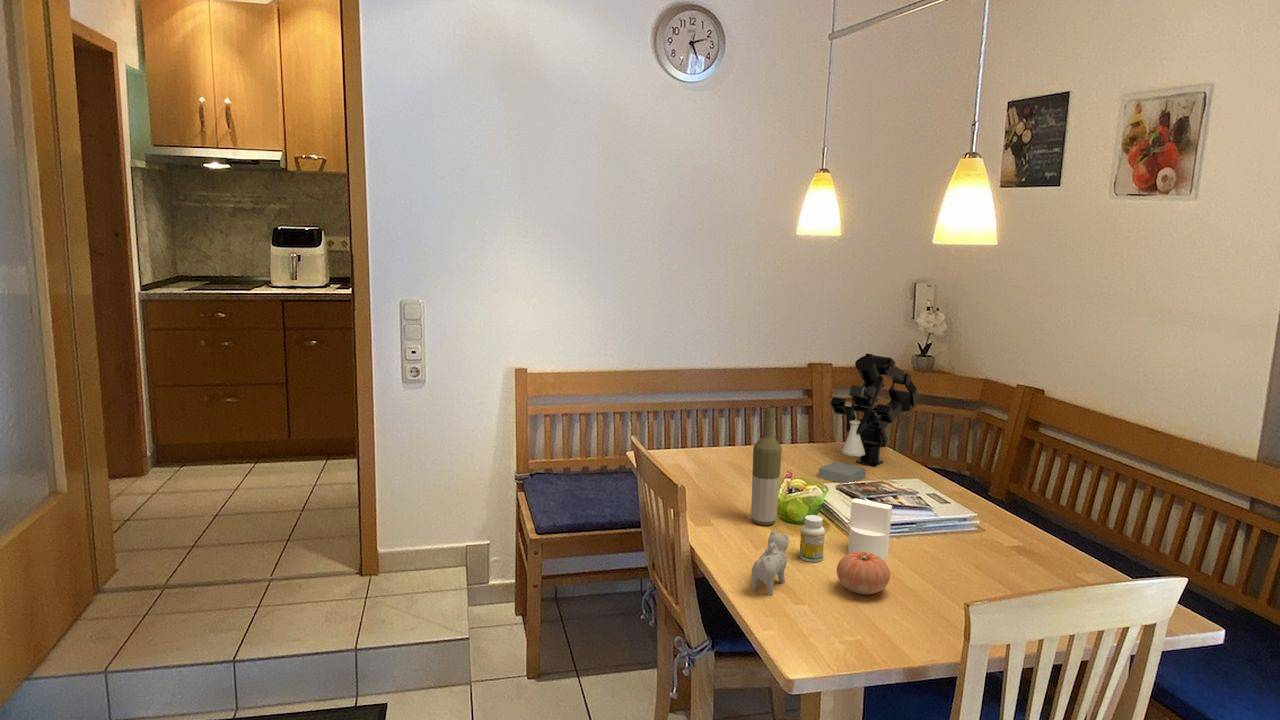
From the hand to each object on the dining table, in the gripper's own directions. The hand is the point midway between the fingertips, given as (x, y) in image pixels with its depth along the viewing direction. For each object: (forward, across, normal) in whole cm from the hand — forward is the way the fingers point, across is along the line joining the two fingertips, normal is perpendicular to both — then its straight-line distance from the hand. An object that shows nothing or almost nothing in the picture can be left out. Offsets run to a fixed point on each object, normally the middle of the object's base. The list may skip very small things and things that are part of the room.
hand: (852, 432), depth 252 cm
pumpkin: (+60, +36, -42) cm, 81 cm away
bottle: (+46, 0, -28) cm, 54 cm away
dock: (+13, 0, +5) cm, 14 cm away
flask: (+4, 0, +6) cm, 7 cm away
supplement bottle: (+54, +20, -37) cm, 69 cm away
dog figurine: (+67, +19, -50) cm, 86 cm away
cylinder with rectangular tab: (+46, +28, -28) cm, 61 cm away
